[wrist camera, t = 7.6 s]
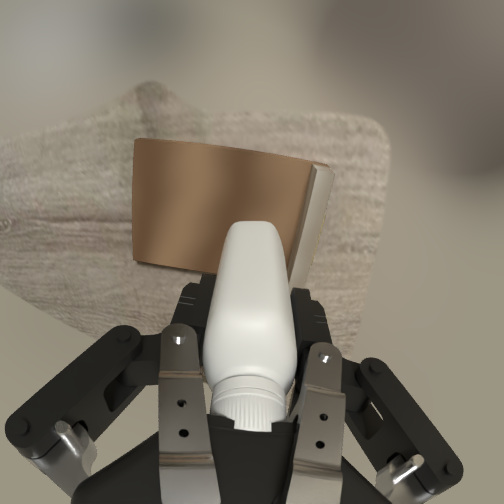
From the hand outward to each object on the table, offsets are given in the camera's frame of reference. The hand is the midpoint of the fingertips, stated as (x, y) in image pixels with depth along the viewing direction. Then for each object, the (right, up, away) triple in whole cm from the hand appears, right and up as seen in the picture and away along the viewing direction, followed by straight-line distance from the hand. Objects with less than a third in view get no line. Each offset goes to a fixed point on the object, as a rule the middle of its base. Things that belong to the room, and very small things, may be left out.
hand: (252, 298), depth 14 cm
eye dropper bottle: (0, +2, +3) cm, 3 cm away
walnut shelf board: (-2, +5, +9) cm, 11 cm away
